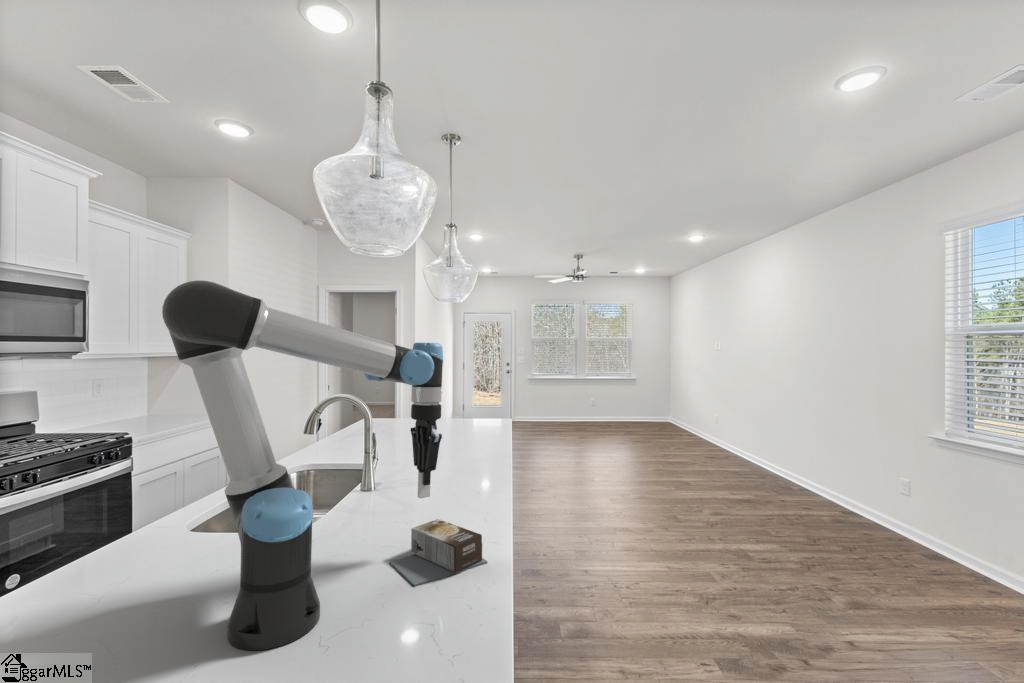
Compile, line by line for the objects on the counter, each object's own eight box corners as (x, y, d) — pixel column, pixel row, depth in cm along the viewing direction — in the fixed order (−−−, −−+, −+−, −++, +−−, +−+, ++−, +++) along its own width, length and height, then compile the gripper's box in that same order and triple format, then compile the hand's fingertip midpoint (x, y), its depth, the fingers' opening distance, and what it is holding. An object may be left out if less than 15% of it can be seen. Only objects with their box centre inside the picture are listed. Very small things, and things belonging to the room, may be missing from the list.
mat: (414, 586, 99) (414, 584, 99) (389, 563, 109) (389, 561, 109) (487, 562, 110) (487, 561, 110) (458, 543, 121) (458, 542, 121)
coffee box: (438, 517, 121) (483, 533, 111) (437, 541, 121) (483, 560, 111) (410, 527, 114) (456, 546, 104) (410, 553, 114) (455, 574, 103)
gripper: (452, 405, 114) (449, 501, 113) (428, 400, 124) (425, 488, 123) (424, 406, 109) (421, 506, 109) (402, 401, 119) (399, 492, 119)
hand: (423, 496), depth 116 cm, fingers closed
